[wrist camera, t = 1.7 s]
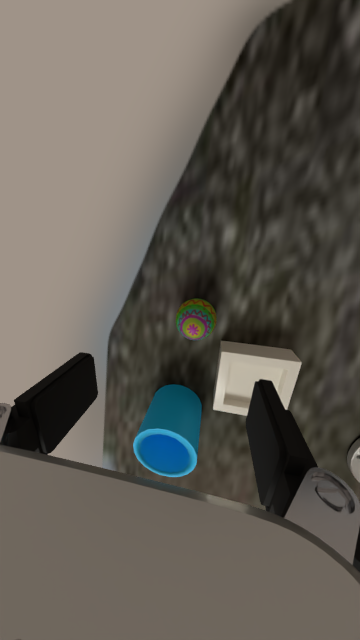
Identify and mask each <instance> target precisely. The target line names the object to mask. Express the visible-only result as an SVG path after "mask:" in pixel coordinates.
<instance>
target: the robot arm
mask: <svg viewBox="0 0 360 640" xmlns="http://www.w3.org/2000/svg"><path fill="white" fill-rule="evenodd" d="M97 395H98V390H97V382H96V373H95V364H94V358H93V357H92V355H91V354H88V353H79V354H77V355H76V356H74V357H73V358H72V359H70V360H69V361H67V362H66V363H65V364H64V365H62V366H60V367H59V368H58V369H56V370H55V371H54V372H52V373H51V374H49V375H48V376H47V377H45V378H44V379H42V380H41V381H40V382H38V383H37V384H35V385H34V386H33V387H31V388H30V389H29V390H27V391H26V392H25V393H23V394H22V395H20V396H19V397H17V398H16V399H15V400H14V402H15V405H14V406H13V407H11V406H10V405H9V404H5V403H0V640H360V502H359V500H358V498H357V496H356V495H355V493H354V492H353V490H352V489H351V488H350V487H349V486H348V485H347V484H346V483H345V482H344V481H343V480H342V479H341V478H339V477H338V476H337V475H335V474H334V473H332V472H330V471H328V470H326V469H323V468H318V466H317V464H316V462H315V460H314V458H313V456H312V454H311V452H310V450H309V448H308V446H307V444H306V442H305V440H304V438H303V436H302V434H301V432H300V429H299V427H298V425H297V423H296V421H295V419H294V417H293V415H292V414H291V412H290V411H289V410H285V408H284V406H283V404H282V402H281V399H280V397H279V395H278V393H277V391H276V389H275V386H274V384H273V382H272V381H271V380H264V379H259V381H255V384H254V388H253V392H252V397H251V401H250V405H249V410H248V414H247V418H246V429H247V434H248V439H249V445H250V450H251V455H252V460H253V466H254V471H255V476H256V482H257V487H258V492H259V498H260V502H261V504H262V505H264V506H265V507H266V511H265V510H262V509H259V508H256V507H252V506H249V505H246V504H242V503H239V502H235V501H231V500H228V499H224V498H220V497H216V496H213V495H209V494H205V493H201V492H197V491H193V490H189V489H185V488H181V487H177V486H173V485H169V484H165V483H161V482H157V481H153V480H149V479H145V478H141V477H137V476H133V475H129V474H125V473H120V472H116V471H112V470H108V469H104V468H100V467H96V466H92V465H87V464H83V463H79V462H74V461H70V460H66V459H62V458H57V457H53V456H49V455H47V454H48V453H51V452H52V451H53V450H54V449H55V448H56V446H57V445H58V444H59V443H60V442H61V440H62V439H63V438H64V437H65V436H66V434H67V433H68V432H69V430H70V429H71V428H72V427H73V426H74V425H75V423H76V422H77V421H78V420H79V419H80V417H81V416H82V415H83V414H84V413H85V411H86V410H87V409H88V408H89V406H90V405H91V404H92V403H93V402H94V400H95V399H96V398H97ZM347 464H348V467H349V469H350V471H351V472H352V474H353V475H354V477H355V478H356V479H357V480H358V482H359V483H360V438H359V439H358V440H357V441H356V442H355V443H354V444H353V445H352V446H351V448H350V450H349V451H348V455H347Z"/></svg>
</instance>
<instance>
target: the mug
mask: <svg viewBox="0 0 360 640" xmlns="http://www.w3.org/2000/svg"><path fill="white" fill-rule="evenodd" d="M201 412H202V404H201V402H200V399H199V397H198V396H197V395H196V394H195V393H194V392H193V391H192V390H190V389H189V388H187V387H184V386H182V385H175V384H171V385H165V386H164V387H162V388H160V389H159V390H158V391H157V392H156V393H155V395H154V397H153V400H152V402H151V404H150V406H149V409H148V411H147V413H146V415H145V418H144V420H143V422H142V424H141V427H140V429H139V431H138V433H137V436H136V438H135V441H134V444H133V447H134V453H135V455H136V457H137V459H138V460H139V461H140V462H141V463H142V464H143V465H144V466H145V467H146V468H148V469H149V470H151V471H152V472H155V473H157V474H159V475H163V476H168V477H180V476H183V475H187V474H188V473H190V472H191V471H192V470H193V469H194V467H195V466H196V464H197V454H198V444H199V433H200V422H201Z"/></svg>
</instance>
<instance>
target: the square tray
mask: <svg viewBox="0 0 360 640" xmlns="http://www.w3.org/2000/svg"><path fill="white" fill-rule="evenodd" d="M301 364H302V362H301V361H300V360H299V358H298V357H297V356H296V355H295V354H294V352H293V351H292V350H291V349H284V348H276V347H268V346H260V345H252V344H244V343H237V342H229V341H221V344H220V351H219V358H218V365H217V372H216V379H215V386H214V393H213V410H219V411H224V412H229V413H235V414H240V415H246V416H247V414H248V410H249V405H250V401H251V397H252V392H253V388H254V384H255V381H259V379H264V380H271V381H272V382H273V384H274V386H275V389H276V391H277V393H278V395H279V397H280V399H281V402H282V404H283V406H284V408H285V410H287V408H288V405H289V401H290V398H291V395H292V392H293V389H294V386H295V383H296V379H297V376H298V373H299V370H300V367H301Z"/></svg>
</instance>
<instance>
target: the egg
mask: <svg viewBox="0 0 360 640" xmlns="http://www.w3.org/2000/svg"><path fill="white" fill-rule="evenodd" d="M176 325H177V328H178V330H179V332H180V333H181V334H182V335H183V336H184V337H185V338H187V339H190V340H201V339H204V338H206V337H207V336H209V335H210V334H211V333H212V331H213V330H214V328H215V325H216V312H215V310H214V308H213V306H212V305H211V304H210V303H209V302H207V301H205V300H203V299H199V298H195V299H190V300H188V301H186V302H184V303H183V304H182V305H181V306H180V308H179V309H178V312H177V315H176Z"/></svg>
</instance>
